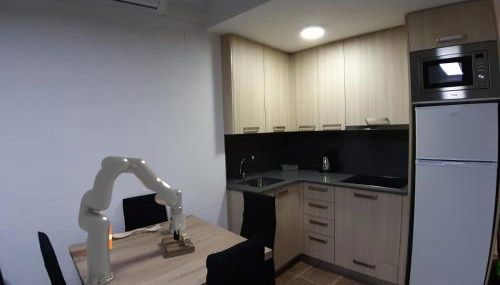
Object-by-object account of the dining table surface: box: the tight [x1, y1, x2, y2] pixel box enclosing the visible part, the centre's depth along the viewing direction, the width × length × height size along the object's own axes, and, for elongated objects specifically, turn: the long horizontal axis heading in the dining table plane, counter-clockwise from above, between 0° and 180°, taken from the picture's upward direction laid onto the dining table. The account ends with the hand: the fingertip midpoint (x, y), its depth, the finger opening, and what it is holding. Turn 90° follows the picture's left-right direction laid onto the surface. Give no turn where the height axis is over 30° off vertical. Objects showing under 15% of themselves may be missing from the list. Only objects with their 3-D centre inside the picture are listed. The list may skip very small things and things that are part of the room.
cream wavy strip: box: [112, 223, 163, 239], centre depth 187 cm, size 9×32×4 cm, turn 121°
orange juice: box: [109, 226, 113, 250], centre depth 163 cm, size 8×9×20 cm
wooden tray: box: [161, 232, 196, 258], centre depth 164 cm, size 24×15×6 cm, turn 27°
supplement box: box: [180, 211, 187, 233], centre depth 192 cm, size 7×7×13 cm
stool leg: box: [180, 232, 192, 246], centre depth 162 cm, size 13×3×4 cm, turn 25°
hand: (176, 239), depth 164 cm, fingers closed
